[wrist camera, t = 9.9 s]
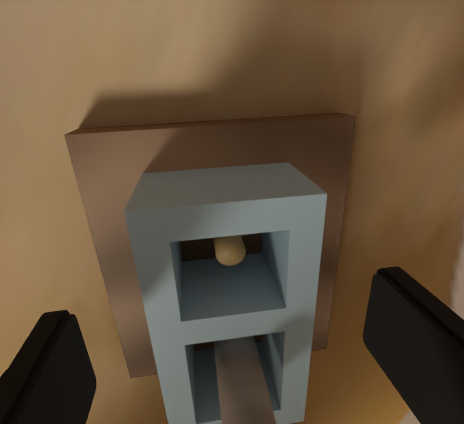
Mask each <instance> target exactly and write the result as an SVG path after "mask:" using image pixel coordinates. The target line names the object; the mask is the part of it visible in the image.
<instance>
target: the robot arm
mask: <svg viewBox="0 0 464 424" xmlns="http://www.w3.org/2000/svg"><path fill="white" fill-rule="evenodd" d="M363 340H364V343H365V345H366V347H367V349H368V350H369V351H370V353H371V354H372V356H373V357H374V358H375V360H376V361H377V363H378V364H379V365H380V367H381V368H382V370H383V371H384V373H385V374H386V375H387V377H388V378H389V380H390V381H391V382H392V384H393V385H394V387H395V388H396V390H397V391H398V392H399V394H400V395H401V397H402V398H403V399H404V401H405V402H406V404H407V405H408V406H409V408H410V409H411V411H412V412H413V414H414V415H415V416H416V418H417V419H418V421H419V422H420V423H421V424H464V320H463V319H462V318H460V317H459V316H458V315H457V314H456V313H455V312H453V311H452V310H451V309H450V308H449V307H447V306H446V305H445V304H444V303H442V302H441V301H440V300H439V299H438V298H436V297H435V296H434V295H433V294H432V293H430V292H429V291H428V290H427V289H426V288H424V287H423V286H422V285H421V284H419V283H418V282H417V281H416V280H415V279H413V278H412V277H411V276H410V275H409V274H407V273H406V272H405V271H404V270H402V269H401V268H400V267H388V268H381V269H379V270H378V271H377V274H374V276H373V279H372V285H371V291H370V297H369V302H368V308H367V314H366V320H365V326H364V332H363ZM95 390H96V377H95V374H94V371H93V367H92V364H91V361H90V358H89V355H88V352H87V349H86V346H85V343H84V340H83V336H82V333H81V330H80V327H79V324H78V321H77V318H76V316H75V315H74V314H70V313H69V312H68V311H67V310H61V311H53V312H46V313H44V314H43V315H42V316H41V317H40V319H39V320H38V322H37V323H36V325H35V327H34V328H33V330H32V331H31V333H30V335H29V336H28V338H27V339H26V341H25V342H24V344H23V346H22V347H21V349H20V350H19V352H18V354H17V355H16V357H15V358H14V360H13V361H12V363H11V365H10V366H9V368H8V369H7V370H6V371H5V372H4V373H3V374H2V376H1V377H0V424H86V421H87V418H88V415H89V411H90V408H91V404H92V401H93V398H94V394H95Z"/></svg>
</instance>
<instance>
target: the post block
mask: <svg viewBox="0 0 464 424" xmlns="http://www.w3.org/2000/svg"><path fill="white" fill-rule="evenodd" d="M355 120H356V117H355V116H350V115H346V114H341V113H334V114H318V115H301V116H285V117H268V118H252V119H236V120H219V121H203V122H186V123H170V124H154V125H137V126H121V127H104V128H88V129H77V130H74V131H72V132H70V133H68V134H65V135H64V136H65V139H66V143H67V147H68V150H69V154H70V158H71V161H72V165H73V169H74V172H75V176H76V180H77V183H78V187H79V191H80V194H81V198H82V202H83V205H84V209H85V213H86V216H87V220H88V224H89V227H90V231H91V235H92V238H93V242H94V246H95V249H96V253H97V257H98V260H99V264H100V268H101V271H102V275H103V279H104V282H105V286H106V290H107V293H108V297H109V301H110V304H111V308H112V312H113V315H114V319H115V323H116V326H117V330H118V334H119V337H120V341H121V345H122V348H123V352H124V356H125V359H126V363H127V367H128V370H129V374H130V378H135V377H142V376H148V375H155V374H158V372H157V367H156V362H155V358H154V353H153V348H152V343H151V338H150V334H149V329H148V324H147V319H146V315H145V310H144V305H143V300H142V295H141V291H140V286H139V281H138V276H137V272H136V267H135V262H134V257H133V252H132V248H131V243H130V238H129V233H128V228H127V224H126V219H125V214H124V210H125V208H126V206H127V204H128V202H129V200H130V198H131V196H132V194H133V192H134V190H135V188H136V186H137V183H138V181H139V179H140V177H141V175H142V173H154V172H167V171H180V170H193V169H207V168H220V167H233V166H247V165H260V164H273V163H286V162H289V163H290V164H292V165H293V166H294V167H295V168H296V169H298V170H299V171H300V172H301V173H303V174H304V175H305V176H306V177H307V178H309V179H310V180H311V181H312V182H314V183H315V184H316V185H317V186H319V187H320V188H321V189H322V190H323V191H325V192H326V193H327V201H326V211H325V220H324V230H323V240H322V250H321V259H320V269H319V279H318V289H317V299H316V308H315V318H314V328H313V338H312V347H311V351H314V350H321V349H326V347H327V339H328V331H329V324H330V316H331V308H332V300H333V292H334V284H335V277H336V269H337V261H338V253H339V245H340V237H341V230H342V222H343V214H344V206H345V198H346V190H347V183H348V175H349V167H350V159H351V151H352V143H353V135H354V128H355ZM180 245H181V252H182V260H183V261H192V260H201V259H210V258H217V260H218V261H219V262H220V263H221V264H223V265H227V266H232V265H236V264H238V263H240V262H241V261H242V260H243V259H244V257H245V255H247V254H256V253H262V233H254V234H244V235H235V236H225V237H215V238H205V239H195V240H185V241H180ZM256 342H262V335H254V336H247V337H240V338H233V339H226V340H219V341H211V342H204V343H197V344H193V346H194V351H200V350H207V349H214V351H215V361H216V371H217V381H218V391H219V401H220V411H221V421H222V424H277V423H276V420H275V416H274V412H273V408H272V404H271V400H270V396H269V393H268V389H267V385H266V381H265V377H264V373H263V369H262V366H261V362H260V358H259V354H258V350H257V346H256Z"/></svg>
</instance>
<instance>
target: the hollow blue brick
mask: <svg viewBox="0 0 464 424" xmlns="http://www.w3.org/2000/svg"><path fill="white" fill-rule="evenodd" d="M326 201H327V193H326V192H325V191H323V190H322V189H321V188H320V187H319V186H317V185H316V184H315V183H314V182H312V181H311V180H310V179H309V178H307V177H306V176H305V175H304V174H303V173H301V172H300V171H299V170H298V169H296V168H295V167H294V166H293V165H292V164H290V163H289V162H286V163H273V164H260V165H247V166H233V167H220V168H207V169H193V170H180V171H167V172H154V173H142V175H141V177H140V179H139V181H138V183H137V186H136V188H135V190H134V192H133V194H132V196H131V198H130V200H129V202H128V204H127V206H126V208H125V210H124V214H125V219H126V224H127V228H128V233H129V238H130V243H131V248H132V252H133V257H134V262H135V267H136V272H137V276H138V281H139V286H140V291H141V295H142V300H143V305H144V310H145V315H146V319H147V324H148V329H149V334H150V338H151V343H152V348H153V353H154V358H155V362H156V367H157V372H158V377H159V381H160V386H161V391H162V396H163V401H164V405H165V410H166V415H167V420H168V424H222V421H221V411H220V401H219V391H218V381H217V371H216V361H215V351H214V349H207V350H200V351H194V346H193V344H197V343H204V342H211V341H219V340H226V339H233V338H240V337H247V336H254V335H262V342H256V346H257V350H258V354H259V358H260V362H261V366H262V369H263V373H264V377H265V381H266V385H267V389H268V393H269V396H270V400H271V404H272V408H273V412H274V416H275V420H276V423H277V424H291V423H297V422H302V421H304V416H305V406H306V396H307V387H308V377H309V367H310V357H311V347H312V338H313V328H314V318H315V308H316V299H317V289H318V279H319V269H320V259H321V250H322V240H323V230H324V220H325V211H326ZM254 233H262V253H256V254H247V255H245V257H244V259H243V260H242V261H241V262H240V263H238V264H236V265H232V266H227V265H223V264H221V263H220V262H219V261H218V260H217V258H210V259H201V260H192V261H183V260H182V252H181V245H180V241H185V240H195V239H205V238H215V237H225V236H235V235H244V234H254Z"/></svg>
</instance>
